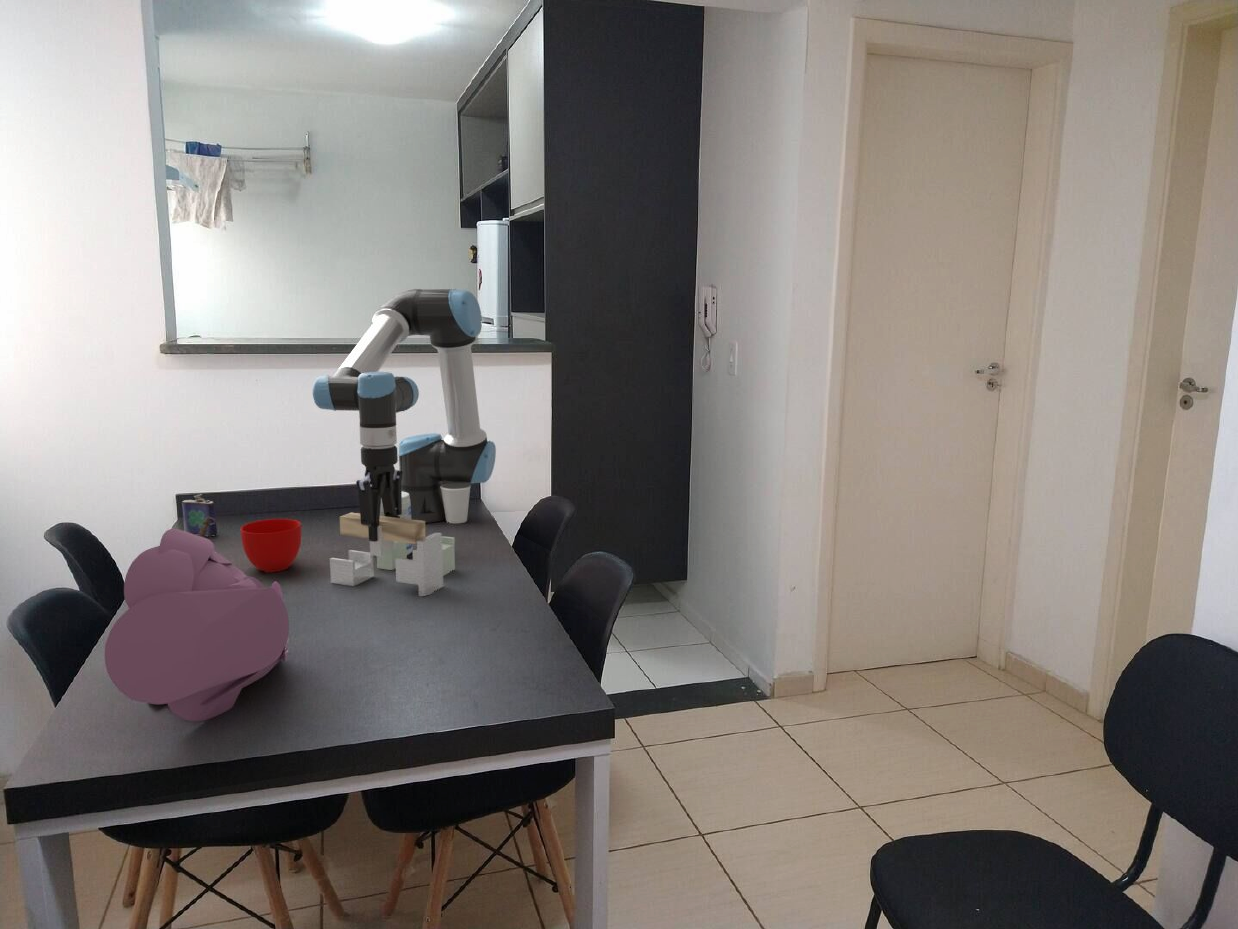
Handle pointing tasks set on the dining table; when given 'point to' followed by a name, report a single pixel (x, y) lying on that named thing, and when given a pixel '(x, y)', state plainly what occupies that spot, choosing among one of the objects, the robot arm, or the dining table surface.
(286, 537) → the ceramic cup
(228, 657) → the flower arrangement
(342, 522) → the rail
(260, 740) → the dining table surface
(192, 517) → the flask
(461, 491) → the dixie cup
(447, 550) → the rack
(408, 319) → the robot arm
